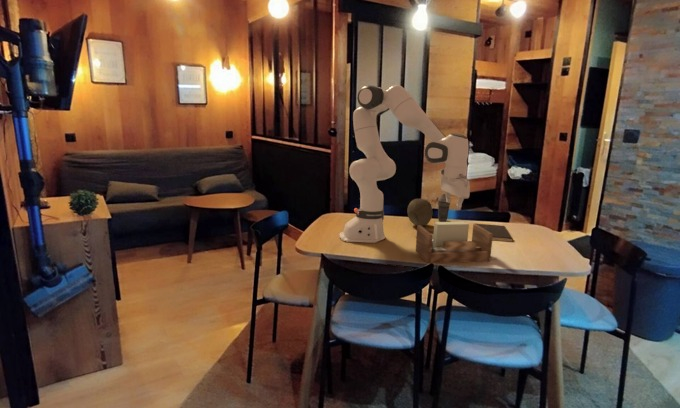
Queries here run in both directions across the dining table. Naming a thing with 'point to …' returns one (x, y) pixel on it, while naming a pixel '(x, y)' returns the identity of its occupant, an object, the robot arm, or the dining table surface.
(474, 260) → the walnut rack
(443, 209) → the beverage cup
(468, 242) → the offcut stack
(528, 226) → the dining table surface
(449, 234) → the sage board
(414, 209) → the cantaloupe
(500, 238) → the hardcover book
